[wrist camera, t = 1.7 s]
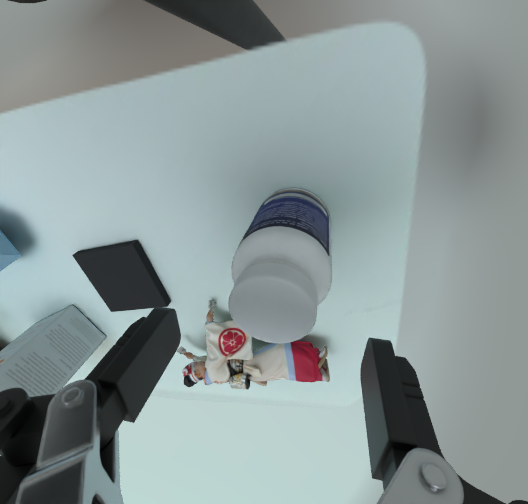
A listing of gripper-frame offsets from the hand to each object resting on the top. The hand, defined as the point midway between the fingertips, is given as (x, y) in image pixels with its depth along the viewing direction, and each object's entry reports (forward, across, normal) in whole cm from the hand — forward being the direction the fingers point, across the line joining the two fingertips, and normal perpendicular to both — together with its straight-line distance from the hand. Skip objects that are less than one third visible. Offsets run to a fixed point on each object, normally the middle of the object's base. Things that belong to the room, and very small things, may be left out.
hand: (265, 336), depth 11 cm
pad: (+11, +16, +7) cm, 20 cm away
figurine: (+11, +4, +12) cm, 16 cm away
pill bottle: (+11, 0, 0) cm, 11 cm away
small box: (+11, +26, +16) cm, 32 cm away
